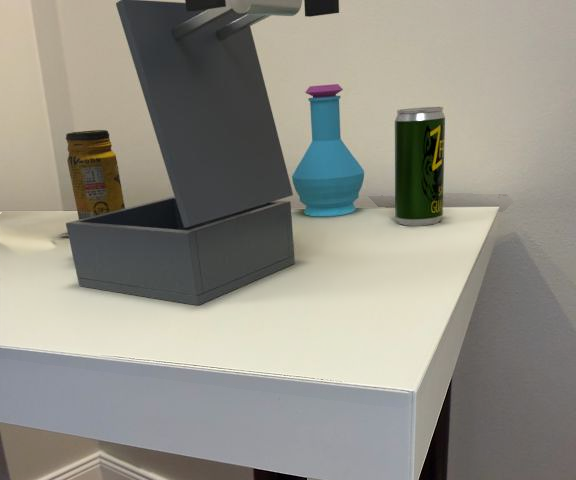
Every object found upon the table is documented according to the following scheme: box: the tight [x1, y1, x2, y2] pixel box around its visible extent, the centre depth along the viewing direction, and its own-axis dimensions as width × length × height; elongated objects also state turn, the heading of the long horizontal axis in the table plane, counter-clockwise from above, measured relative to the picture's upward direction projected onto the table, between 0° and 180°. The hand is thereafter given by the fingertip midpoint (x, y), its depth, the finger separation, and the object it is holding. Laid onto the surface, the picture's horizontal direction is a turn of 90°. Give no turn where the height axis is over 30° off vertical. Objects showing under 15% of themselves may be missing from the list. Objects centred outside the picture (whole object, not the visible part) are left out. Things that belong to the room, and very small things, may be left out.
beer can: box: [394, 106, 446, 227], centre depth 73 cm, size 5×5×12 cm
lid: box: [115, 0, 303, 228], centre depth 50 cm, size 16×14×9 cm
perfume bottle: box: [291, 83, 365, 217], centre depth 82 cm, size 9×9×15 cm
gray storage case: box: [65, 196, 296, 306], centre depth 60 cm, size 15×14×6 cm
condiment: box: [59, 129, 126, 237], centre depth 83 cm, size 7×8×12 cm
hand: (270, 12), depth 46 cm, fingers open, 13 cm apart
